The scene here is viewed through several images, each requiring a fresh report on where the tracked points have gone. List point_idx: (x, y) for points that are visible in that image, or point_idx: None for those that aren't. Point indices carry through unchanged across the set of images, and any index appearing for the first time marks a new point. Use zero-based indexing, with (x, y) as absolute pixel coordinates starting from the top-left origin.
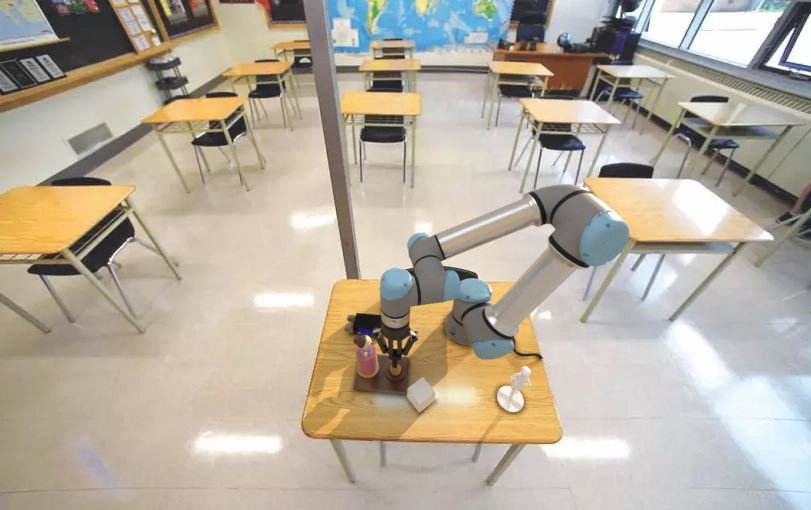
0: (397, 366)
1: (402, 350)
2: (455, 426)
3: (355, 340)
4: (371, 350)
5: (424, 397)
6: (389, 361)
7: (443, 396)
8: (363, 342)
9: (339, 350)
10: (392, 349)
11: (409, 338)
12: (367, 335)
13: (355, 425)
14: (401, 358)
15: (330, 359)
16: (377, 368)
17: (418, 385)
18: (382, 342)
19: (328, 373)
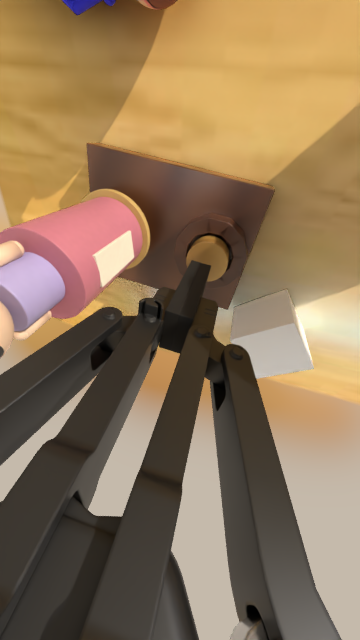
0: (214, 256)
1: (208, 369)
2: (325, 381)
3: None
4: (56, 293)
5: (272, 370)
6: (194, 200)
7: (338, 326)
8: None
9: (13, 103)
10: (137, 393)
11: (245, 555)
12: (88, 8)
13: None
14: (245, 192)
15: (4, 148)
16: (144, 246)
17: (267, 341)
18: (38, 421)
19: (23, 203)
